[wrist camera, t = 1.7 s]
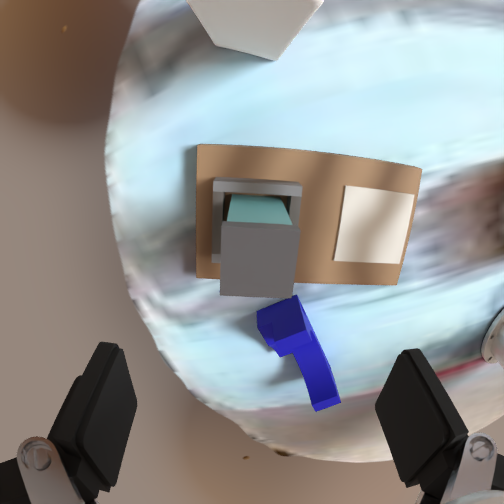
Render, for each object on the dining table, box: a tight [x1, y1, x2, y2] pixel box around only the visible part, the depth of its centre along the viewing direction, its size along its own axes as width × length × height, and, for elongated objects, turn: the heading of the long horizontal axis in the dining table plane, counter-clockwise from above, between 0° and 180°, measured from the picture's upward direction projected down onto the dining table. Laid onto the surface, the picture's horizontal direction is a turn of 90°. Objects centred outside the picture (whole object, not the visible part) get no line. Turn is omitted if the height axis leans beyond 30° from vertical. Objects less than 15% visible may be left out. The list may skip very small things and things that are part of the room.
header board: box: [196, 144, 422, 285], centre depth 26 cm, size 20×12×4 cm, turn 86°
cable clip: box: [257, 295, 341, 412], centre depth 31 cm, size 12×4×6 cm, turn 25°
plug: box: [220, 194, 301, 298], centre depth 22 cm, size 4×4×9 cm
